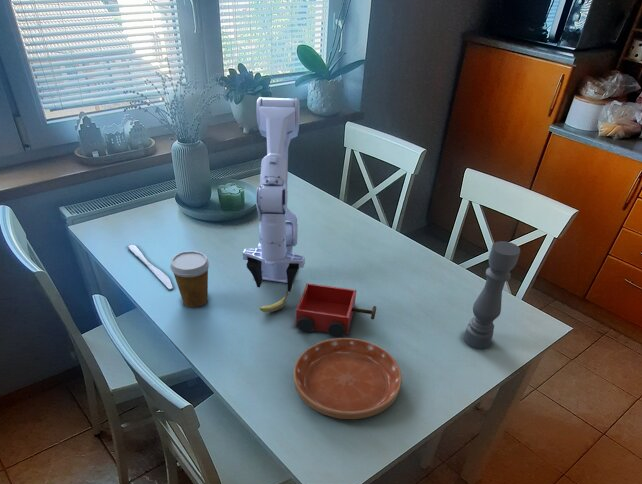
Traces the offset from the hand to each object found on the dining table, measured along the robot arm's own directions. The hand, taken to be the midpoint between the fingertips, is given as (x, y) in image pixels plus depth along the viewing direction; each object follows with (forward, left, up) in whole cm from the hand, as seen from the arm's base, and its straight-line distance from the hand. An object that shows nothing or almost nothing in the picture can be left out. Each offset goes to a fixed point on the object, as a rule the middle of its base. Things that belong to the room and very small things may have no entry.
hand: (274, 287), depth 126 cm
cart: (+13, 0, -7) cm, 15 cm away
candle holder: (+50, 0, -7) cm, 50 cm away
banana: (0, 0, -7) cm, 7 cm away
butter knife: (-39, +11, -7) cm, 41 cm away
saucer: (+22, -22, -7) cm, 32 cm away
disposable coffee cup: (-21, -1, -7) cm, 22 cm away
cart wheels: (+16, 0, -7) cm, 18 cm away
